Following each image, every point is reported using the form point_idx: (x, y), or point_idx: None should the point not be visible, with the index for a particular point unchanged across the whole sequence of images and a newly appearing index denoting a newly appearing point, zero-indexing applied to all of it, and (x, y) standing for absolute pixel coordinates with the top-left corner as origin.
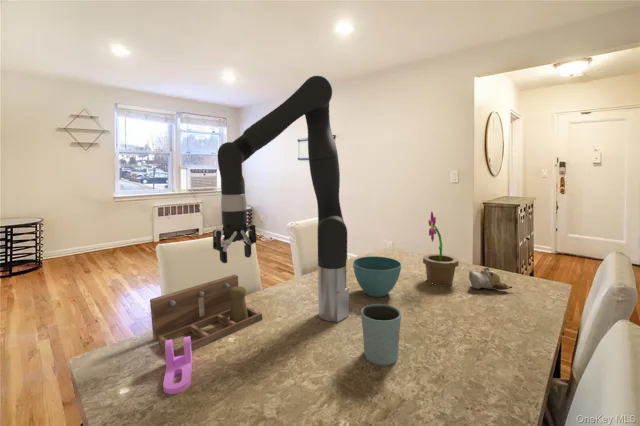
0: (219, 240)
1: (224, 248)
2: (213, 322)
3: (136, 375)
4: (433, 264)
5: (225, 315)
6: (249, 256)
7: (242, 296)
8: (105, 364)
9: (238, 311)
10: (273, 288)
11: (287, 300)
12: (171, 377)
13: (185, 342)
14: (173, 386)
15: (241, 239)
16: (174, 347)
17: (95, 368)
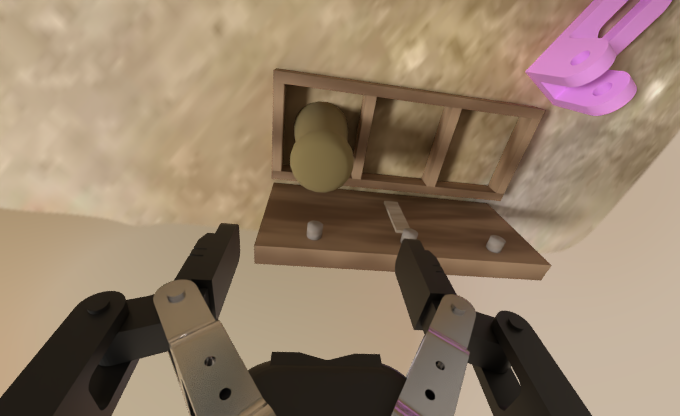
0: (562, 402)
1: (464, 315)
2: (370, 174)
3: (604, 119)
4: None
5: None
6: (229, 224)
7: (325, 129)
8: (577, 202)
9: (338, 123)
10: (101, 209)
11: (113, 100)
12: (635, 20)
13: (613, 53)
14: None
15: (271, 362)
16: (532, 127)
17: (591, 203)
